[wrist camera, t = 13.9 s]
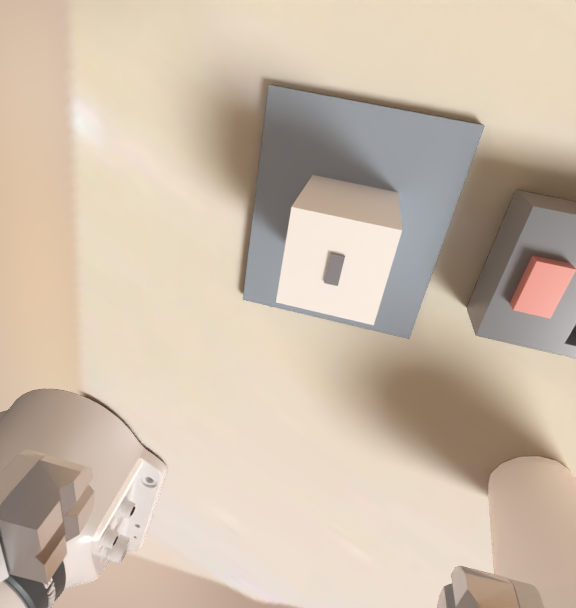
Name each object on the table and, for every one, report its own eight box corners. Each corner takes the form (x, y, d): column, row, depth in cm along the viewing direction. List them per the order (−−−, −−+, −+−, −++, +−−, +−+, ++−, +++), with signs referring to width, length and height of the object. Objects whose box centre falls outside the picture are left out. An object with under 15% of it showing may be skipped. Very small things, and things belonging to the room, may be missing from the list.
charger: (376, 270, 29) (373, 326, 23) (298, 253, 29) (275, 303, 23) (398, 192, 26) (402, 231, 20) (312, 174, 27) (291, 207, 20)
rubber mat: (408, 334, 31) (409, 338, 31) (245, 295, 32) (242, 299, 32) (482, 124, 24) (484, 125, 24) (270, 84, 25) (268, 85, 25)
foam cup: (504, 535, 39) (553, 728, 27) (444, 469, 36) (471, 649, 25) (620, 500, 34) (734, 711, 23) (560, 423, 32) (654, 615, 21)
